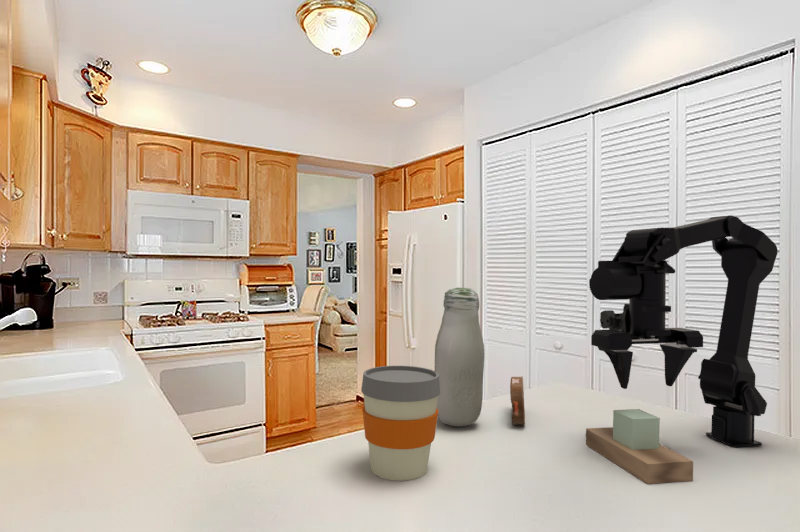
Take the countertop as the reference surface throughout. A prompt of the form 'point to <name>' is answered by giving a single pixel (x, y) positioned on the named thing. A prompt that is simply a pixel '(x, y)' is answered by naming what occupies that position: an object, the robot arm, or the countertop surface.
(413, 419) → the reusable coffee cup
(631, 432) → the sage block
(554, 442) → the countertop surface
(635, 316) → the robot arm
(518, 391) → the tin
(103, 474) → the countertop surface
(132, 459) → the countertop surface
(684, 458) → the walnut base
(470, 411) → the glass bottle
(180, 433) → the countertop surface
